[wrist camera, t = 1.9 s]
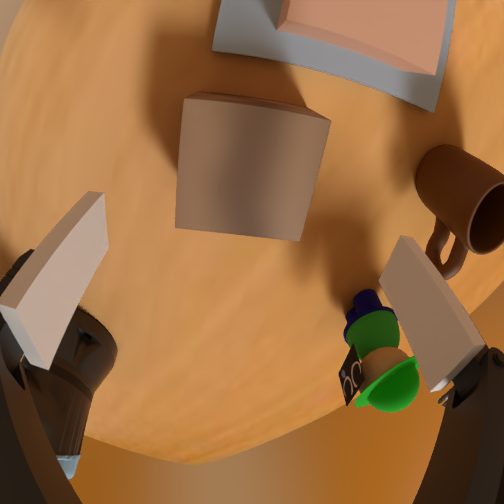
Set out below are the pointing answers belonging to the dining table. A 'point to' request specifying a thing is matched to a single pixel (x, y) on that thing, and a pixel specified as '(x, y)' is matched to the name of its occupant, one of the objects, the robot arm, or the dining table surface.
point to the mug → (461, 205)
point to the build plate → (297, 51)
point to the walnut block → (247, 165)
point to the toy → (376, 358)
